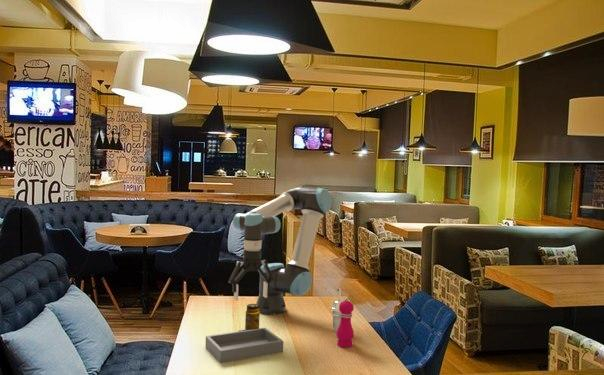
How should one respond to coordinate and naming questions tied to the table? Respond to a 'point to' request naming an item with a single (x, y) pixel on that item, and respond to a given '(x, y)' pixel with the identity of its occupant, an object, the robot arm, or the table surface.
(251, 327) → the condiment
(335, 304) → the cup with straw
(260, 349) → the tray
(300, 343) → the table surface
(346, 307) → the pepper mill
